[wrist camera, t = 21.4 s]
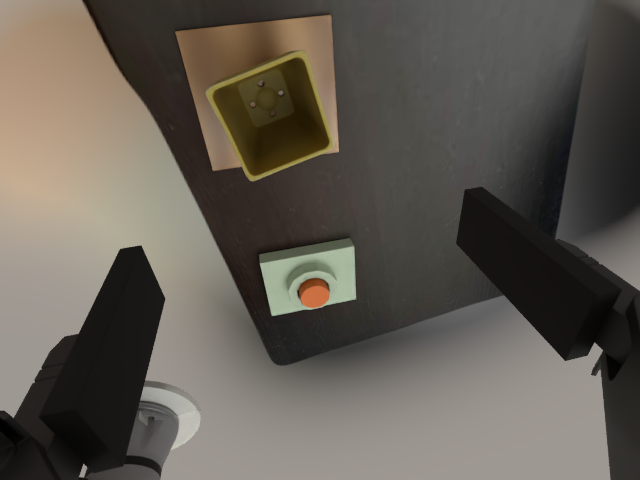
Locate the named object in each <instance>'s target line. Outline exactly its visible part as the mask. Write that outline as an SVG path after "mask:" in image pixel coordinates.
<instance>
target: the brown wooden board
mask: <svg viewBox="0 0 640 480" xmlns="http://www.w3.org/2000/svg"><path fill="white" fill-rule="evenodd" d="M175 33H176V37H177V41H178V44H179V48H180V52H181V55H182V59H183V63H184V66H185V70H186V74H187V77H188V81H189V85H190V88H191V92H192V96H193V99H194V103H195V107H196V110H197V114H198V118H199V121H200V125H201V129H202V132H203V136H204V140H205V143H206V147H207V151H208V154H209V158H210V162H211V165H212V169H213V171H217V170H223V169H230V168H236V167H242V166H241V164H240V162H239V160H238V158H237V155H236V153H235V151H234V149H233V147H232V145H231V143H230V141H229V139H228V136H227V135H226V133H225V131H224V129H223V127H222V125H221V123H220V121H219V119H218V117H217V115H216V114H215V112H214V110H213V108H212V106H211V104H210V102H209V100H208V98H207V96H206V89H207V88H208V87H209V86H210V85H212V84H213V83H215V82H216V81H217V80H219V79H222V78H225V77H227V76H230V75H232V74H235V73H238V72H240V71H243V70H245V69H248V68H250V67H253V66H255V65H258V64H260V63H263V62H265V61H268V60H270V59H272V58H275V57H277V56H279V55H282V54H284V53H286V52H290V51H297V50H304V51H305V52H306V54H307V56H308V59H309V62H310V65H311V68H312V72H313V75H314V79H315V82H316V86H317V89H318V92H319V95H320V99H321V102H322V105H323V108H324V112H325V115H326V118H327V121H328V124H329V127H330V130H331V134H332V136H333V140H334V148H333V149H332V150H330V151H328V152H325V153H323V154H328V153H335V152H339V143H338V125H337V107H336V90H335V72H334V54H333V36H332V18H331V15H321V16H311V17H302V18H293V19H283V20H274V21H265V22H255V23H246V24H237V25H227V26H218V27H209V28H199V29H190V30H181V31H175ZM263 84H264V83H263V81H259V82H258V85H259V86H263ZM278 94H279V95H280V96H283V94H284V92H283V91H282V90H280V91H279V92H278ZM250 105H251V107H255V105H256V104H255V102H251V103H250ZM270 115H271V116H274V115H275V111H271V112H270ZM320 155H321V154H320Z"/></svg>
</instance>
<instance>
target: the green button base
mask: <svg viewBox="0 0 640 480" xmlns="http://www.w3.org/2000/svg"><path fill="white" fill-rule="evenodd" d="M259 259H260V266H261V271H262V275H263V279H264V284H265V288H266V293H267V297H268V301H269V306H270V310H271V315H272V316H275V315H280V314H285V313H290V312H295V311H300V310H305V309H308V310H311V309H316V308H309V307H306V306H304V305H303V304H302V302H301V299H300V294H299V288H300V286H301V284H302V283H303V282H304V281H306V280H308V279H312V278H319V279H322V280H323V281H325V283H326V284H327V287H328V290H329V299H328V301H327V302H326V303H325V304H324V305H322V306H320V307H317V308H321V307H323V306H325V305H329V304H334V303H339V302H344V301H349V300H354V299H356V286H355V259H354V245H353V243H352V241H351V239H350V238H347V239H341V240H336V241H330V242H325V243H319V244H314V245H308V246H303V247H297V248H292V249H286V250H281V251H275V252H270V253H264V254H259Z"/></svg>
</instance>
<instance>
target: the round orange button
mask: <svg viewBox="0 0 640 480" xmlns="http://www.w3.org/2000/svg"><path fill="white" fill-rule="evenodd" d="M299 294H300V299H301V302H302V304H303V305H304V306H306V307H309V308H317V307H320V306H322V305H324V304H325V303H326V302H327V301H328V299H329V290H328V287H327V284H326V283H325V281H323V280H322V279H319V278H312V279H308V280H306V281H304V282H303V283H302V284H301V286H300V288H299Z"/></svg>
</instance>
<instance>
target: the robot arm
mask: <svg viewBox="0 0 640 480" xmlns="http://www.w3.org/2000/svg"><path fill="white" fill-rule="evenodd" d="M456 244H457V245H458V246H459V247H460V248H461V249H462V250H463V251H464V252H465V254H466V255H467V256H468V257H469V258H470V259H471V260H472V261H473V262H474V263H475V264H476V265H477V266H478V268H479V269H480V270H481V271H482V272H483V273H484V274H485V275H486V276H487V277H488V278H489V279H490V280H491V282H492V283H493V284H494V285H495V286H496V287H497V288H498V289H499V290H500V291H501V292H502V293H503V294H504V295H505V297H506V298H507V299H508V300H509V301H510V302H511V303H512V304H513V305H514V306H515V307H516V308H517V309H518V311H519V312H520V313H521V314H522V315H523V316H524V317H525V318H526V319H527V320H528V321H529V322H530V323H531V325H532V326H533V327H535V329H536V330H537V331H538V332H539V333H540V334H541V335H542V336H543V337H544V339H545V340H546V341H547V342H548V343H549V344H550V345H551V346H552V347H553V348H554V349H555V350H556V351H557V353H558V354H559V355H560V356H561V357H562V358H563V359H564V360H565V361H566V360H571V359H575V358H579V357H583V356H587V355H588V353H589V352H590V350H591V347H592V346H593V344H594V342H595V343H596V344H597V345H598V346H599V347H600V348H601V349H603V352H602V354H601V356H600V357H599V359H598V361H597V363H596V364H595V367H594V368H593V370H592V374H591V375H594V376H596V374H597V373H598V371H599V370H601V377H602V388H603V399H604V410H605V421H606V432H607V444H608V455H609V466H610V477H611V480H640V291H639V290H637V289H636V288H634V287H633V286H631V285H630V284H629V283H627V282H626V281H625V280H623V279H622V278H620V277H619V276H617V275H616V274H615V273H613V272H612V271H610V270H609V269H607V268H606V267H605V266H603V265H600V264H599V262H597V261H596V260H595V259H593V258H592V257H589V256H588V255H587V254H586V253H585V252H583V251H582V250H580V249H579V248H578V247H576V246H574V245H572V244H570V243H567V242H565V241H562V240H560V239H557V240H554V239H552V238H551V237H550V236H548V235H547V234H546V233H544V232H543V231H541V230H540V229H539V228H537V227H536V226H535V225H533V224H532V223H531V222H529V221H528V220H526V219H525V218H524V217H522V216H521V215H520V214H518V213H517V212H516V211H514V210H513V209H511V208H510V207H509V206H507V205H506V204H505V203H503V202H502V201H500V200H499V199H498V198H496V197H495V196H494V195H492V194H491V193H490V192H488V191H487V190H485V189H484V188H483V187H478V188H472V189H466V190H465V192H464V198H463V204H462V211H461V217H460V223H459V229H458V235H457V241H456ZM164 302H165V297H164V295H163V293H162V291H161V288H160V286H159V284H158V281H157V279H156V277H155V275H154V273H153V270H152V268H151V266H150V264H149V262H148V259H147V257H146V255H145V253H144V250H143V248H142V246H135V247H129V248H123V249H120V250H119V252H118V254H117V256H116V259H115V261H114V263H113V265H112V267H111V269H110V271H109V273H108V275H107V277H106V279H105V281H104V283H103V285H102V287H101V289H100V291H99V293H98V295H97V297H96V299H95V302H94V304H93V306H92V308H91V310H90V312H89V314H88V316H87V318H86V320H85V322H84V324H83V326H82V328H81V330H80V332H79V334H76V335H71V336H66V337H64V338H63V339H62V340H61V341H60V342H59V343H58V344H57V345H56V346H55V347H54V348H53V349H52V350H51V351H50V353H49V355H48V356H47V358H46V360H45V362H44V364H43V365H42V370H40V371H39V373H38V375H37V376H36V378H35V383H33V384H32V386H31V387H30V389H29V391H28V393H27V395H26V396H25V398H24V400H23V402H22V404H21V406H20V408H19V410H18V411H17V413H16V415H15V417H14V418H12V417H11V416H10V415H9V414H8V413H6V412H5V411H0V480H160V477H161V471H162V467H163V464H164V462H165V460H166V458H167V456H168V454H169V452H170V450H171V448H172V446H173V444H174V442H175V440H176V437H177V434H178V429H179V418H178V416H177V414H176V413H175V412H174V411H173V410H171V409H170V408H168V407H166V406H164V405H161V404H158V403H155V402H149V401H140V398H141V394H142V390H143V386H144V382H145V378H146V374H147V370H148V366H149V362H150V358H151V354H152V350H153V346H154V342H155V338H156V334H157V330H158V326H159V322H160V318H161V314H162V310H163V306H164ZM83 463H84V464H85V465H86V466H87V470H86V473H85V477H84V478H81V477H79V475H80V472H81V469H82V466H83Z"/></svg>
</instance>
